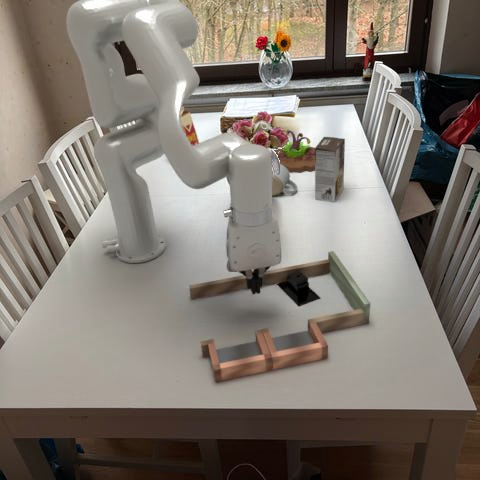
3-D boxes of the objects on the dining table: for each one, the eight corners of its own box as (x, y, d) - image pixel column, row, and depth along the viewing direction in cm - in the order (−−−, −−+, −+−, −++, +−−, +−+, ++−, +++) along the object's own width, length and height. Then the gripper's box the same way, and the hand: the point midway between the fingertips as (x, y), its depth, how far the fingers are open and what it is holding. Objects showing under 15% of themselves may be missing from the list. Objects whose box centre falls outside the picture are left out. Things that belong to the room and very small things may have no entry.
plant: (276, 149, 181) (275, 119, 175) (329, 152, 174) (329, 122, 168) (257, 171, 165) (255, 139, 160) (314, 176, 158) (315, 142, 153)
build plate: (328, 303, 104) (328, 285, 102) (298, 315, 102) (298, 297, 99) (296, 273, 114) (296, 257, 111) (269, 284, 111) (268, 267, 109)
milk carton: (203, 158, 178) (196, 103, 167) (188, 167, 171) (179, 111, 161) (183, 154, 182) (176, 101, 172) (167, 164, 176) (158, 108, 165)
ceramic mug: (259, 196, 148) (258, 173, 144) (266, 184, 155) (265, 162, 151) (294, 199, 145) (294, 175, 141) (299, 187, 152) (299, 164, 148)
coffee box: (323, 186, 151) (323, 136, 142) (344, 189, 148) (345, 137, 140) (314, 199, 144) (314, 147, 135) (335, 202, 141) (337, 149, 133)
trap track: (208, 383, 87) (205, 363, 84) (190, 296, 109) (187, 278, 106) (384, 345, 92) (386, 325, 89) (333, 269, 113) (333, 251, 111)
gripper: (215, 228, 86) (222, 308, 96) (297, 216, 89) (295, 295, 99) (208, 208, 92) (215, 284, 103) (285, 197, 95) (284, 273, 105)
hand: (254, 289), depth 101 cm, fingers closed
